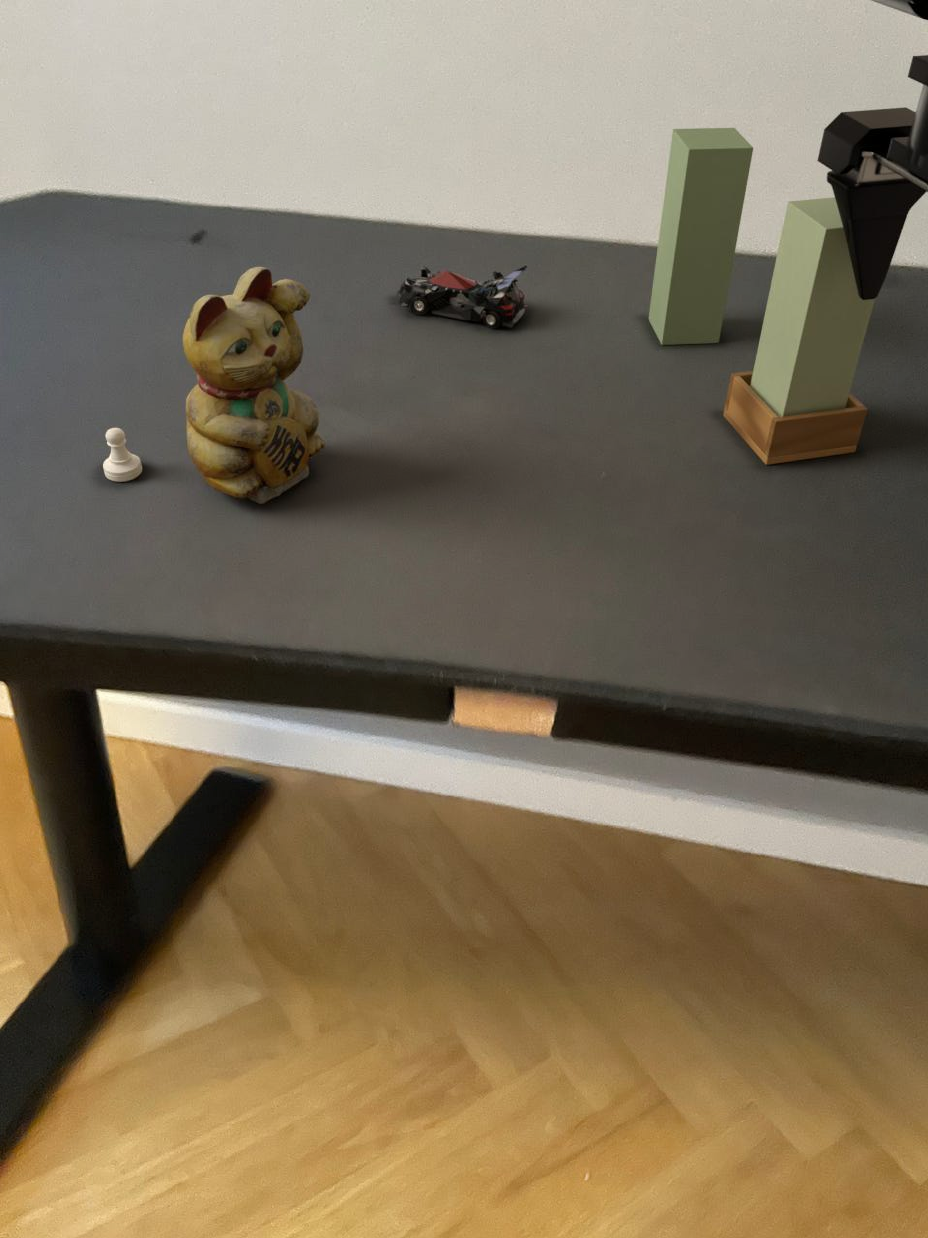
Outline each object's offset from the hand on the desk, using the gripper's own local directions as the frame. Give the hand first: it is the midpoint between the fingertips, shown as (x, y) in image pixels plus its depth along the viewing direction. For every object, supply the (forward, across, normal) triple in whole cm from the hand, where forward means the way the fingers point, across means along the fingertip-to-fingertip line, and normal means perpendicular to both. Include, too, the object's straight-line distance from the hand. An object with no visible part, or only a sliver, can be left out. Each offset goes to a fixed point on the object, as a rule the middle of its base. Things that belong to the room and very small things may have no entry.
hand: (908, 330), depth 64 cm
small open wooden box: (+13, +10, 0) cm, 16 cm away
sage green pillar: (+12, +10, 0) cm, 16 cm away
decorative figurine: (+13, +14, +39) cm, 44 cm away
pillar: (+13, +28, 0) cm, 31 cm away
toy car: (+13, +37, +19) cm, 43 cm away
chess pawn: (+13, +16, +48) cm, 53 cm away
